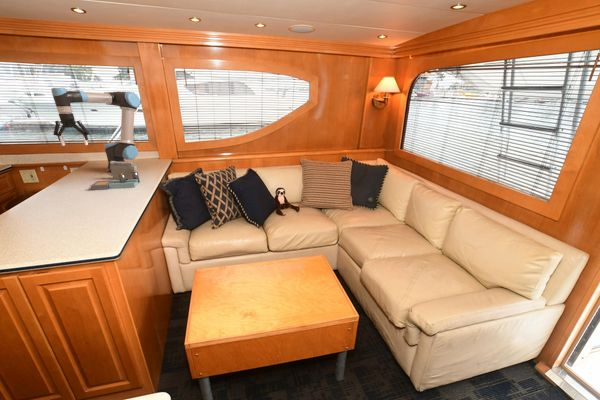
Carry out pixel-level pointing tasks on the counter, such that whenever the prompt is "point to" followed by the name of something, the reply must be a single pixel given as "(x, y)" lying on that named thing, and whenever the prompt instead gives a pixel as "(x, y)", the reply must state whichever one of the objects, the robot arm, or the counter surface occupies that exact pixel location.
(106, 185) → the grey square tray
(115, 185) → the trough
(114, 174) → the geiger counter
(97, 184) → the orange square tile
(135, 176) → the cell
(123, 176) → the cell
